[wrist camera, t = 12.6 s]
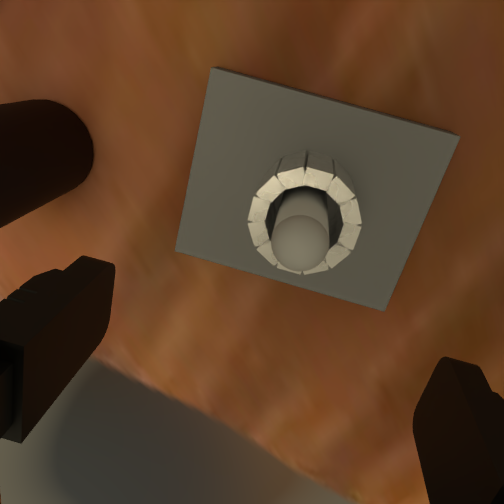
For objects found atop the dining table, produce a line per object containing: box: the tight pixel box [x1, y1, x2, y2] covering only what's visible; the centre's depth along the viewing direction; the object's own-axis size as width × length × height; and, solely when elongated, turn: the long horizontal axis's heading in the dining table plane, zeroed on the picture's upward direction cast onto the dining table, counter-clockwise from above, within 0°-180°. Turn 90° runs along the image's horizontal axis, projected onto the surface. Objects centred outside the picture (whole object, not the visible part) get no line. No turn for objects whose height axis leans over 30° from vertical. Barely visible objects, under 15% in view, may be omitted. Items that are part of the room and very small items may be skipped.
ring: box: [248, 150, 362, 275], centre depth 29 cm, size 6×6×5 cm
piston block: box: [175, 67, 460, 311], centre depth 28 cm, size 16×13×12 cm
